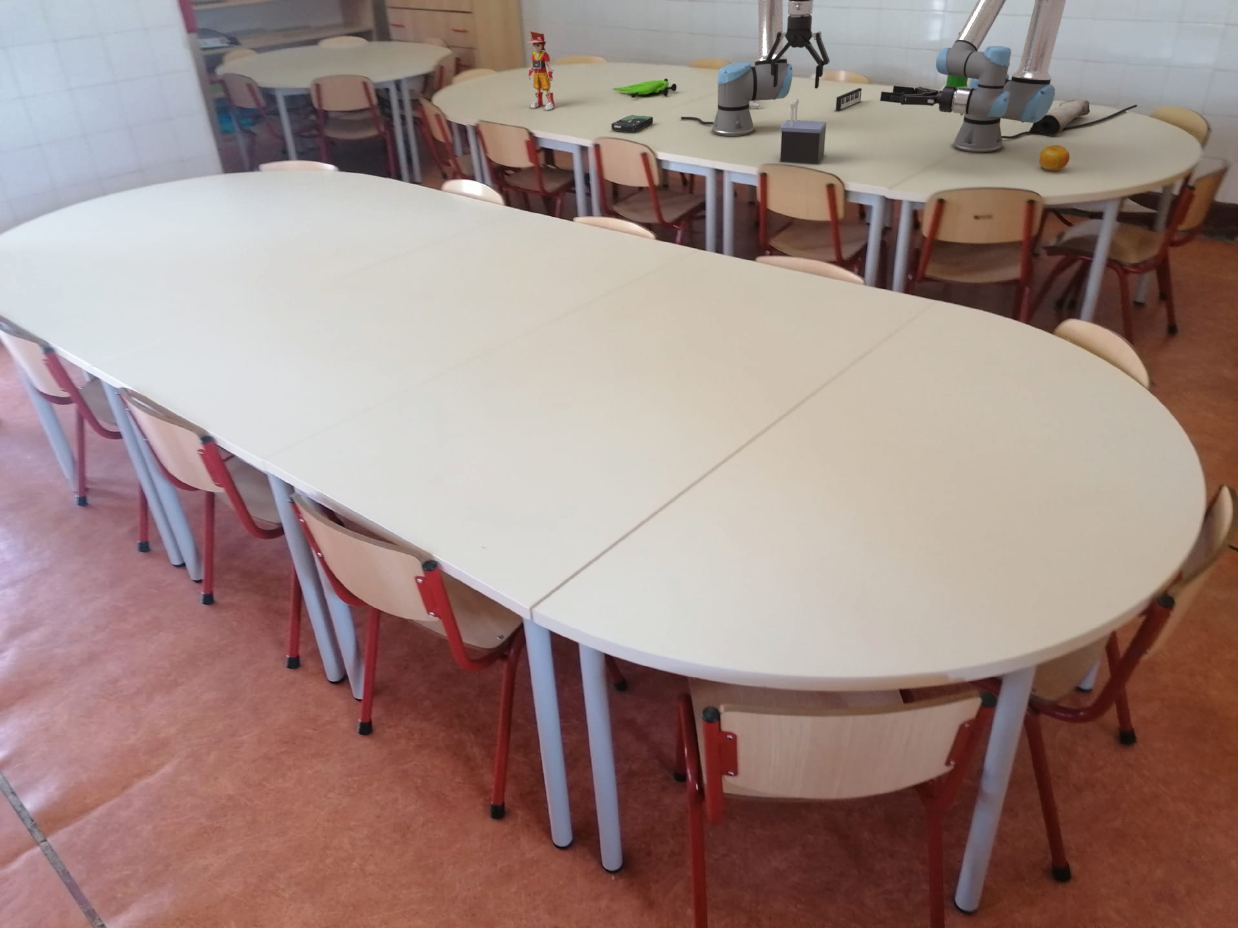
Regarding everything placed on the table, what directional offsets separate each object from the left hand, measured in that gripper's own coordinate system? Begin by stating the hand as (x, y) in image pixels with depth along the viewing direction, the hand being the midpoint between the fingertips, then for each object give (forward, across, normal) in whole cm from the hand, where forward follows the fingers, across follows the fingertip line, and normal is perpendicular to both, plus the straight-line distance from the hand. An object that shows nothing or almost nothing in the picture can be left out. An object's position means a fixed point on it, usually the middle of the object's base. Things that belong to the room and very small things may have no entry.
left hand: (795, 87), depth 292 cm
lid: (+13, +3, 0) cm, 13 cm away
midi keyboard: (+23, +6, +73) cm, 77 cm away
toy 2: (+23, -87, +83) cm, 123 cm away
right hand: (+2, +29, +3) cm, 29 cm away
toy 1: (+23, -119, +50) cm, 131 cm away
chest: (+23, +4, 0) cm, 23 cm away
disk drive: (+23, -69, +26) cm, 77 cm away
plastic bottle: (+23, +45, +86) cm, 100 cm away
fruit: (+23, +82, +4) cm, 85 cm away
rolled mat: (+23, +83, +58) cm, 104 cm away
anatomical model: (+23, -36, +67) cm, 79 cm away
